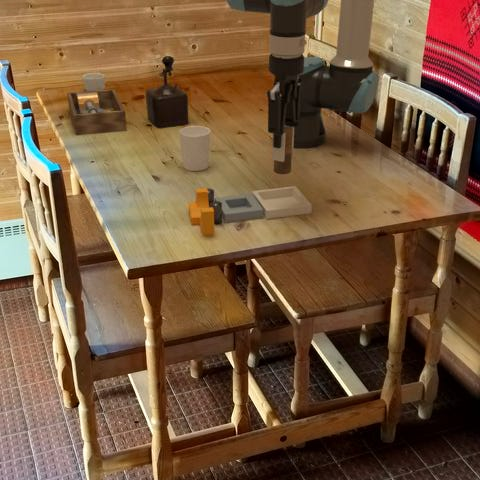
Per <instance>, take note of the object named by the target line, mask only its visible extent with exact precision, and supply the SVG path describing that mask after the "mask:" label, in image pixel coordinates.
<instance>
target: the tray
mask: <svg viewBox="0 0 480 480" xmlns="http://www.w3.org/2000/svg"><path fill="white" fill-rule="evenodd" d="M251 194H252V195H253V196H254V198H255V199H256V201H257V202H258V203H259V205H260V206H261V207H262V209H263V218H265V219H266V220H271V219H280V218H288V217H295V216H302V215H309V214H312V210H313V209H312V208H313V207H312V206H313V204H311V202H310V201H309V200H308V199H307V197H305V195H304V194H303V193H302V192H301V191H300V190H299V189H298V188H297V186H296V185H294V186H286V187H277V188H269V189H260V190H258V189H257V190H252V191H251Z"/></svg>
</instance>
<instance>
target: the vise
mask: <svg viewBox="0 0 480 480" xmlns="http://www.w3.org/2000/svg"><path fill="white" fill-rule="evenodd" d="M76 101H77V110H76V113H77V114H87V113H98V112H105V111H104V109H102V108H100V105H99V99H98V94H97V92H88V93H76ZM110 111H111V110H107V111H106V112H110Z"/></svg>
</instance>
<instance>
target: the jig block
mask: <svg viewBox="0 0 480 480" xmlns="http://www.w3.org/2000/svg"><path fill="white" fill-rule="evenodd" d="M214 201H220V202H221V203H222V221H223V222H224V223H225V224H226V223H232V222H233V223H234V222H239V221H240V222H241V221H248V220H255V219H263V218H264V215H263V209H262V207H261V206H260V205H259V203H258V202H257V201H256V199H255V198H254V196H253V195H252V193H246V194H245V193H244V194H237V195H229V196H220V197H214Z"/></svg>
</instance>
